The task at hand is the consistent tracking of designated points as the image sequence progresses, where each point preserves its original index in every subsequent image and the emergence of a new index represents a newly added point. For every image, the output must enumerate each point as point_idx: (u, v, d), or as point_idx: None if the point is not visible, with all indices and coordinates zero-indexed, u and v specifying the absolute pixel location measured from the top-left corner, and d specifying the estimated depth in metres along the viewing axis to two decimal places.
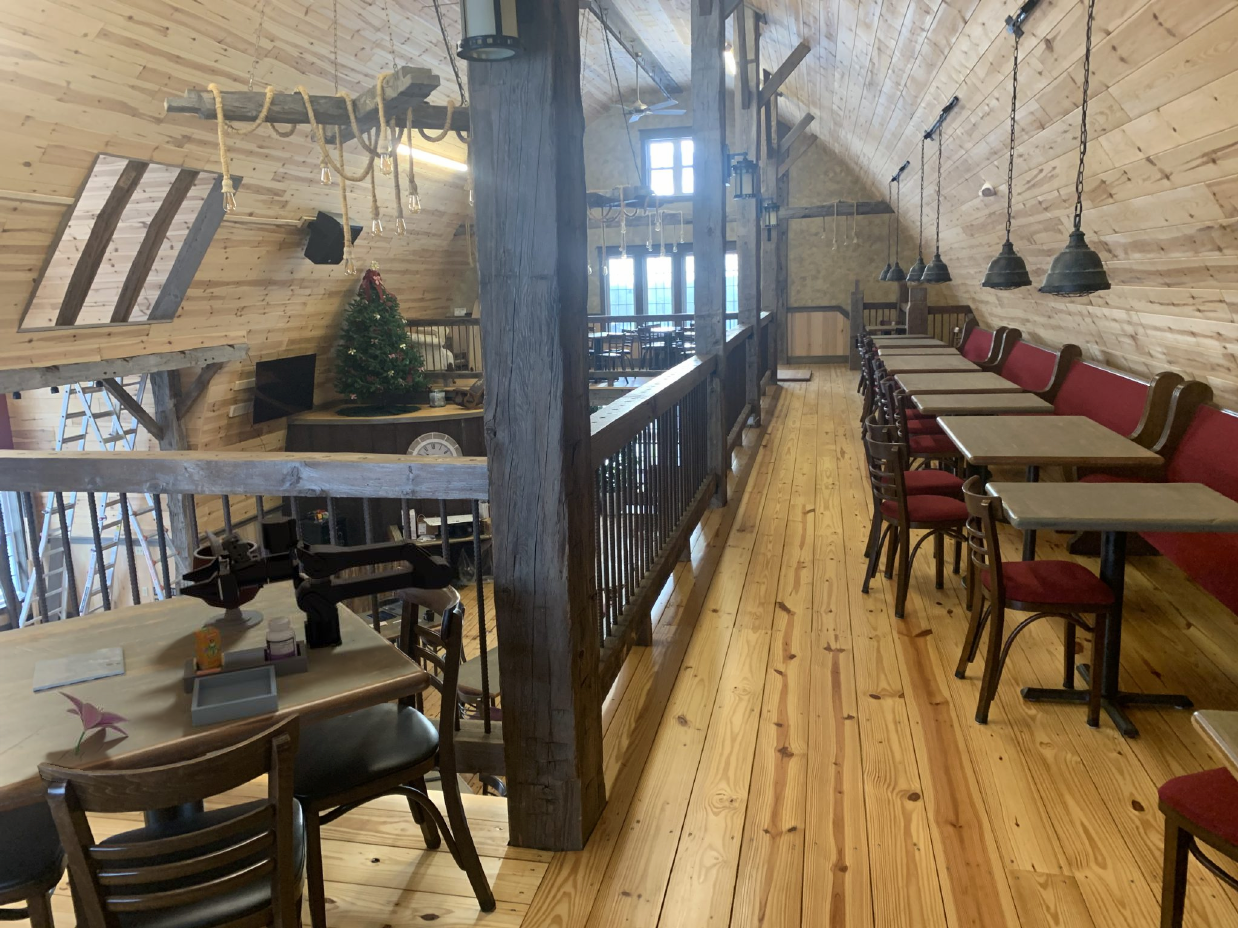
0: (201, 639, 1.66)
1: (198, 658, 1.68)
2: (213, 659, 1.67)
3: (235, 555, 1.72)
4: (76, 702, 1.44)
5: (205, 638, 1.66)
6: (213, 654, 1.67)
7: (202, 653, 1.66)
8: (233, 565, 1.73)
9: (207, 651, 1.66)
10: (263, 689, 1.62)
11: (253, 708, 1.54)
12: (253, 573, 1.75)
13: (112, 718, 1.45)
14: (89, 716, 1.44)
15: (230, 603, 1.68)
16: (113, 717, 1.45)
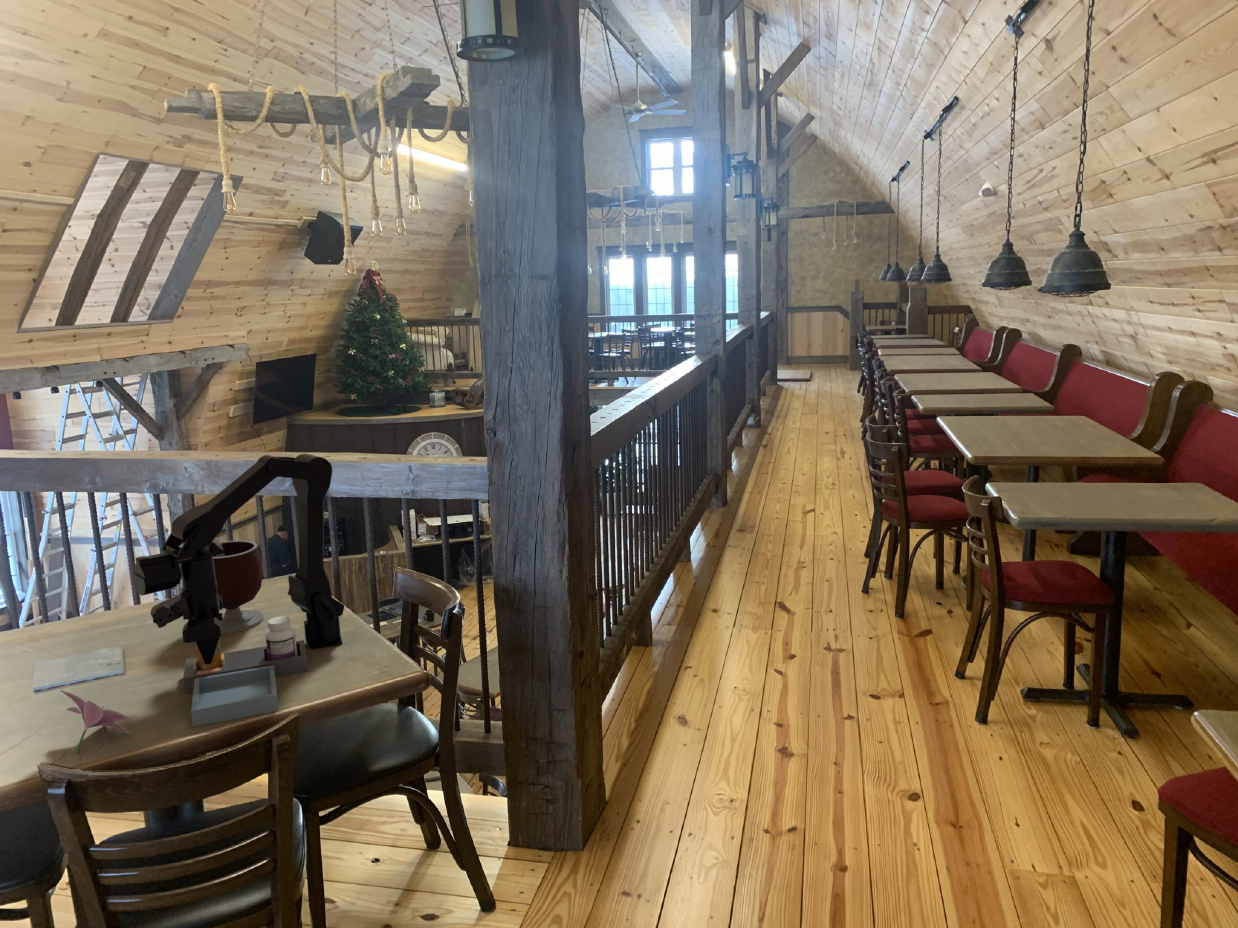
0: None
1: (198, 658, 1.68)
2: (213, 659, 1.67)
3: (170, 619, 1.61)
4: (77, 700, 1.45)
5: None
6: None
7: None
8: (185, 618, 1.63)
9: None
10: (263, 689, 1.62)
11: (253, 708, 1.54)
12: (196, 598, 1.63)
13: (114, 716, 1.46)
14: (90, 715, 1.44)
15: (218, 631, 1.60)
16: (115, 715, 1.45)
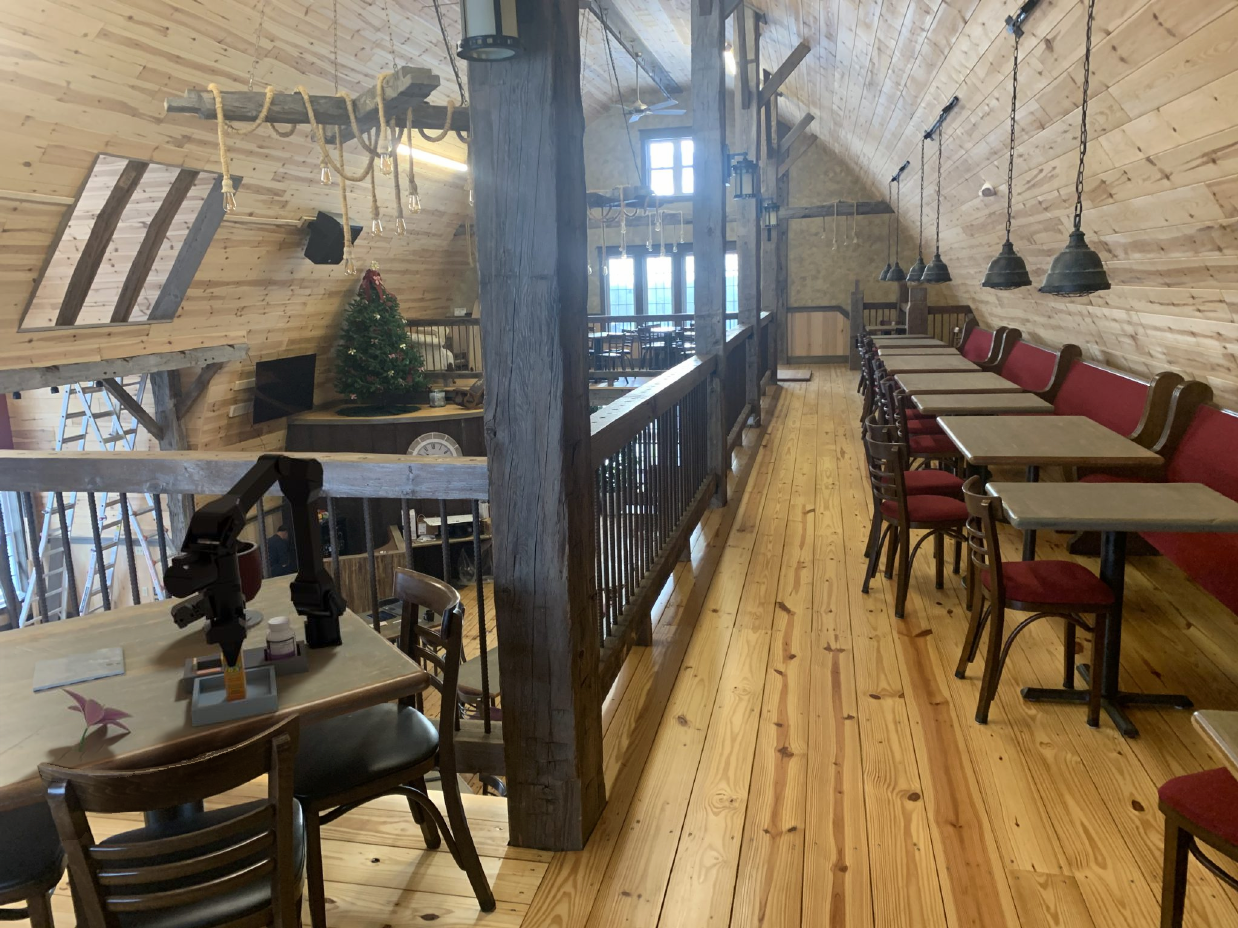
0: (222, 654, 1.56)
1: None
2: (234, 677, 1.57)
3: (192, 619, 1.50)
4: (79, 699, 1.45)
5: None
6: (234, 672, 1.57)
7: None
8: (207, 618, 1.52)
9: (226, 668, 1.56)
10: (263, 689, 1.62)
11: (253, 708, 1.54)
12: (220, 597, 1.53)
13: (115, 714, 1.46)
14: (92, 713, 1.45)
15: (243, 632, 1.49)
16: (116, 713, 1.46)
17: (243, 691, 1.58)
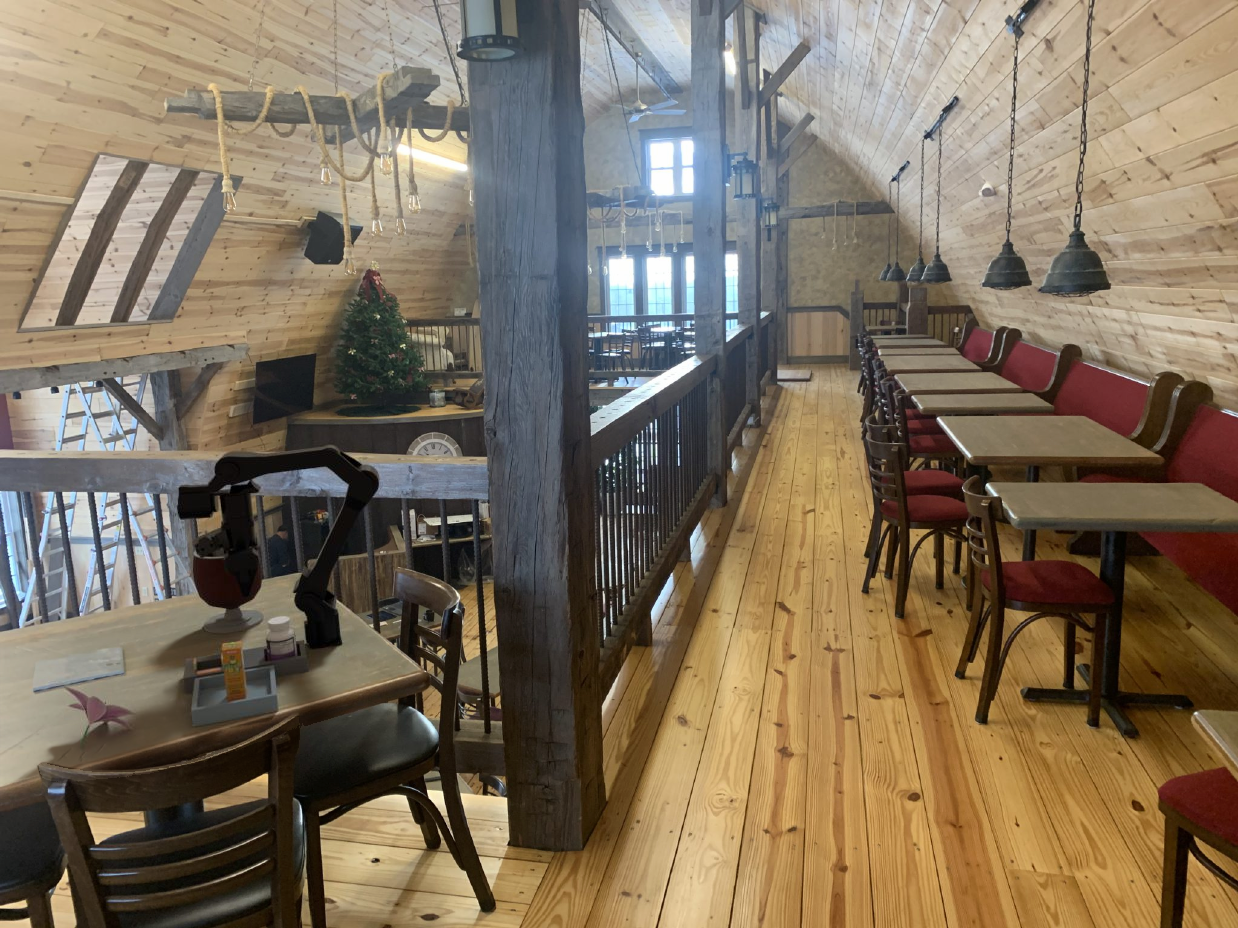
0: (222, 654, 1.56)
1: None
2: (234, 677, 1.57)
3: (211, 549, 1.72)
4: (80, 696, 1.46)
5: (224, 654, 1.56)
6: (234, 672, 1.57)
7: (224, 669, 1.57)
8: (224, 549, 1.74)
9: (227, 668, 1.57)
10: (263, 689, 1.62)
11: (253, 708, 1.54)
12: (236, 531, 1.75)
13: (117, 711, 1.47)
14: (94, 710, 1.46)
15: (256, 560, 1.71)
16: (118, 710, 1.47)
17: (243, 691, 1.58)
